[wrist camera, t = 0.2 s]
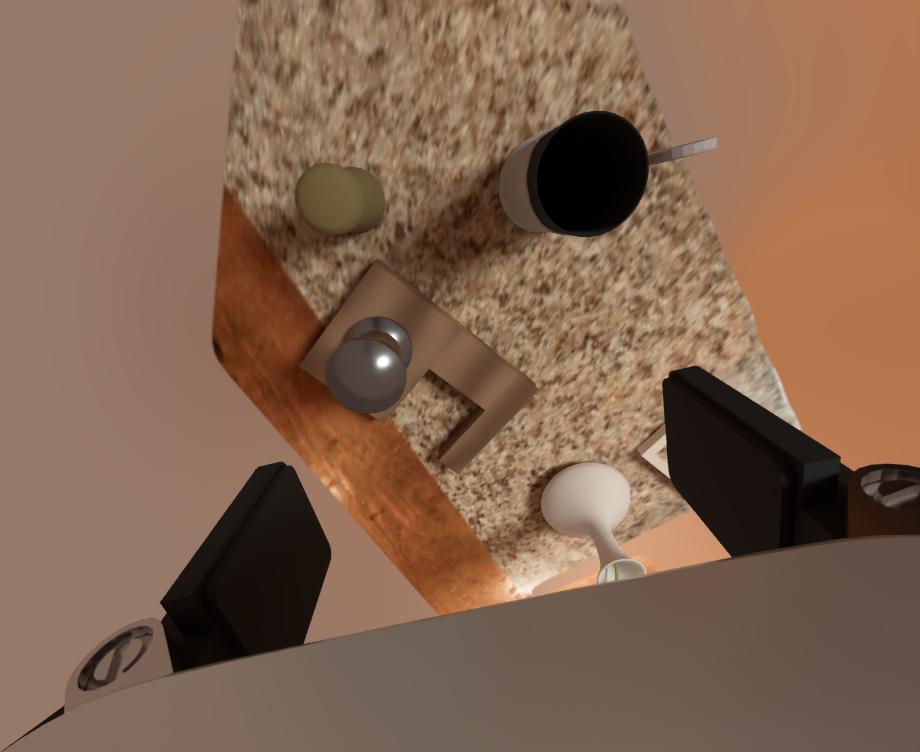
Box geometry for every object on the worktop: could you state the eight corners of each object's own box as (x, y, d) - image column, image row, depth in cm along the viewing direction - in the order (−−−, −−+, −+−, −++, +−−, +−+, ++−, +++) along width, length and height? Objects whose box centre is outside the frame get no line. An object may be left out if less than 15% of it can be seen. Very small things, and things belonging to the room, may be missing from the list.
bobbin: (332, 353, 45) (309, 383, 37) (370, 302, 43) (355, 323, 35) (386, 391, 47) (375, 427, 39) (425, 343, 45) (422, 372, 37)
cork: (338, 241, 43) (305, 253, 33) (312, 179, 41) (268, 171, 31) (394, 221, 42) (378, 227, 32) (371, 157, 40) (345, 141, 30)
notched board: (305, 358, 48) (298, 366, 45) (378, 258, 44) (374, 261, 41) (457, 462, 53) (458, 474, 51) (533, 381, 50) (538, 390, 47)
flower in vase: (634, 458, 54) (776, 649, 31) (613, 529, 58) (724, 744, 35) (533, 451, 53) (601, 642, 30) (519, 523, 57) (569, 740, 34)
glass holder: (489, 148, 40) (513, 120, 26) (639, 107, 39) (744, 55, 26) (508, 242, 44) (537, 260, 30) (646, 206, 43) (743, 207, 29)
